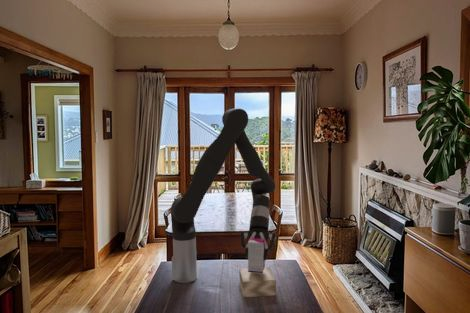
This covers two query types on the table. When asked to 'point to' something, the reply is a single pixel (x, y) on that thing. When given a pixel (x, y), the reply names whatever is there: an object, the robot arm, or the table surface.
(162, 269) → the table surface
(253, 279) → the birch block
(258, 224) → the robot arm
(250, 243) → the supplement box
